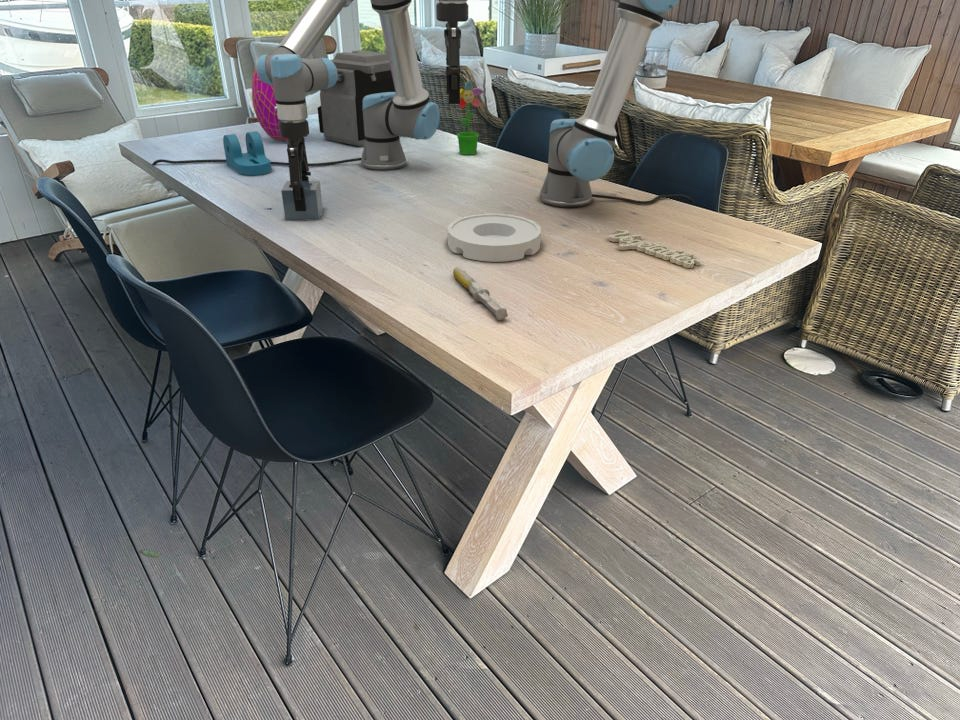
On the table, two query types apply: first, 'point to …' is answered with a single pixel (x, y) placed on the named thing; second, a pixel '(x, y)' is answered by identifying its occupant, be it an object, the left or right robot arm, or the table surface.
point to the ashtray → (494, 237)
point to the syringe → (479, 293)
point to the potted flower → (468, 138)
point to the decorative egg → (265, 107)
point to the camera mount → (246, 154)
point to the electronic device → (352, 94)
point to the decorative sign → (653, 249)
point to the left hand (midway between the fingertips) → (303, 205)
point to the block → (311, 201)
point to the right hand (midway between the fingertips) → (453, 98)
